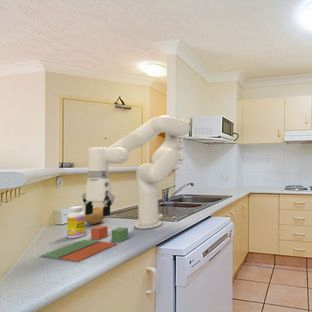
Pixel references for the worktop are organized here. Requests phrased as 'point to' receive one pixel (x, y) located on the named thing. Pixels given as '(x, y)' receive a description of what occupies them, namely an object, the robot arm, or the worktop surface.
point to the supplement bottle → (76, 222)
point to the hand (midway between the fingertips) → (97, 214)
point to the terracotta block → (99, 232)
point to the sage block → (119, 234)
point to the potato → (95, 216)
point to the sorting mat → (79, 250)
